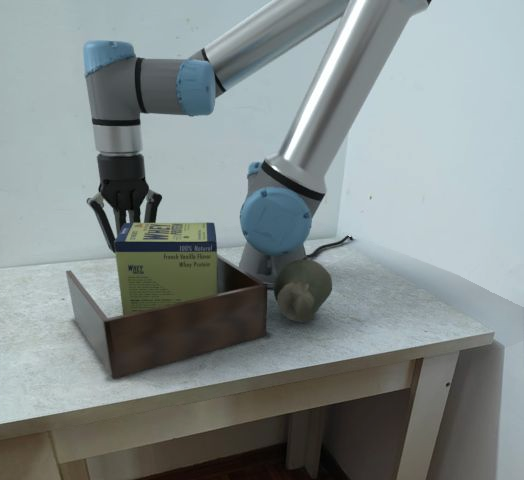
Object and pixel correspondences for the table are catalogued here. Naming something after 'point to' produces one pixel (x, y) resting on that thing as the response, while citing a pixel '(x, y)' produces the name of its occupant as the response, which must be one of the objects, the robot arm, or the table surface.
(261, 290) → the compartment
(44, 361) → the table surface
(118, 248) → the protein box
